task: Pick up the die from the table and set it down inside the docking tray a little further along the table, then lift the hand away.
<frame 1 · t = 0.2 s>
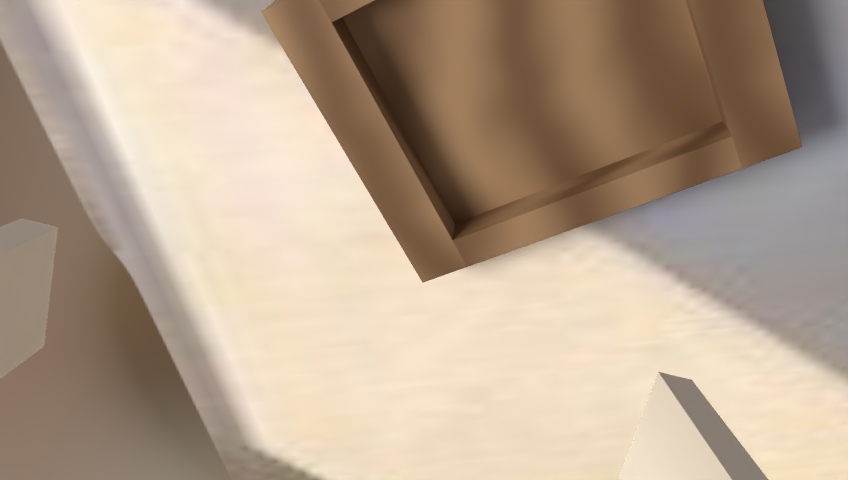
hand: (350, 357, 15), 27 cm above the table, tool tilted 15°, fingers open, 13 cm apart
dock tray: (532, 61, 39), on the table
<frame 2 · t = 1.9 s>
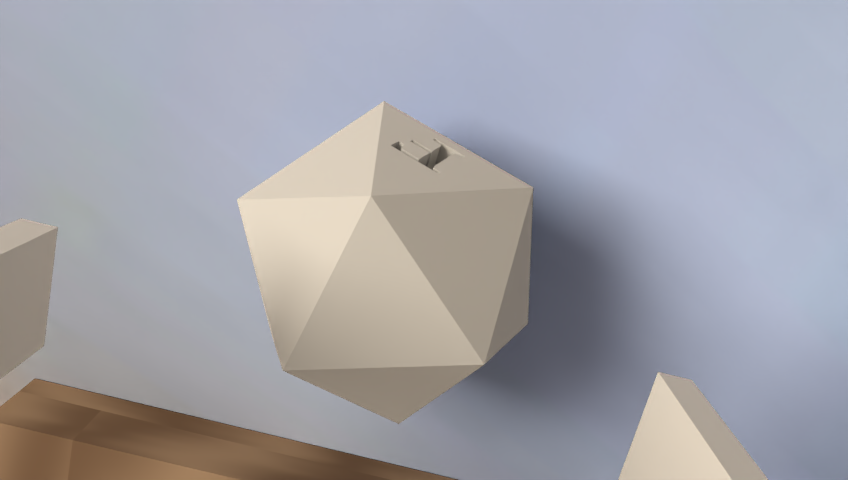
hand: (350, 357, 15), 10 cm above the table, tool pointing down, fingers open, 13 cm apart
die: (400, 230, 25), on the table
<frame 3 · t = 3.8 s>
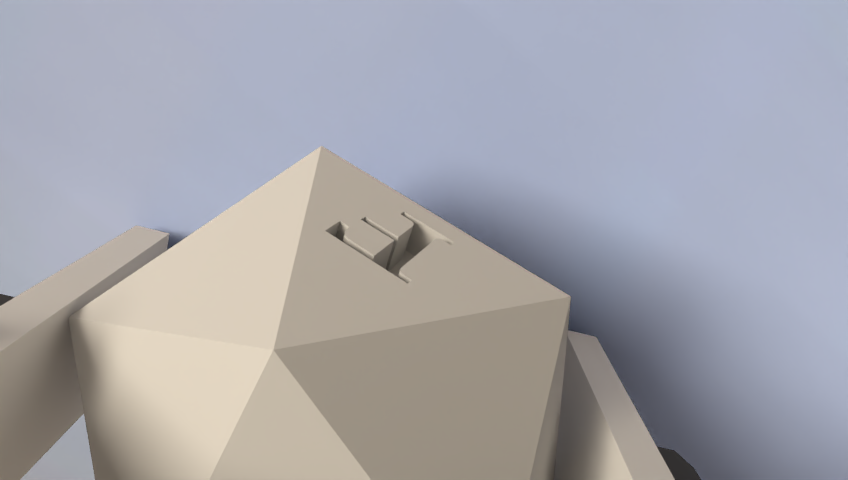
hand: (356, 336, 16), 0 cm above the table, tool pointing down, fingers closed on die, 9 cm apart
die: (359, 326, 17), on the table, touching gripper
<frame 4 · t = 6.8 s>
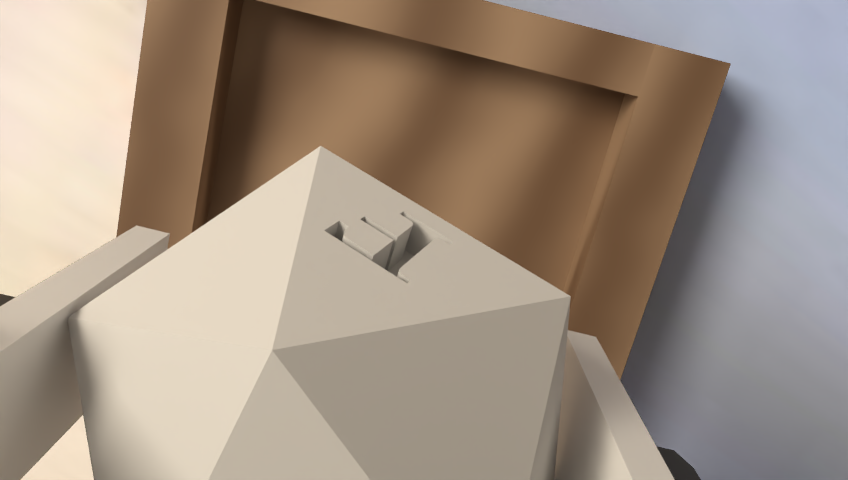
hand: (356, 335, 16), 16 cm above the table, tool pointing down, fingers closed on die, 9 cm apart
die: (359, 326, 17), point 15 cm above the table, touching gripper
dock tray: (399, 203, 32), on the table
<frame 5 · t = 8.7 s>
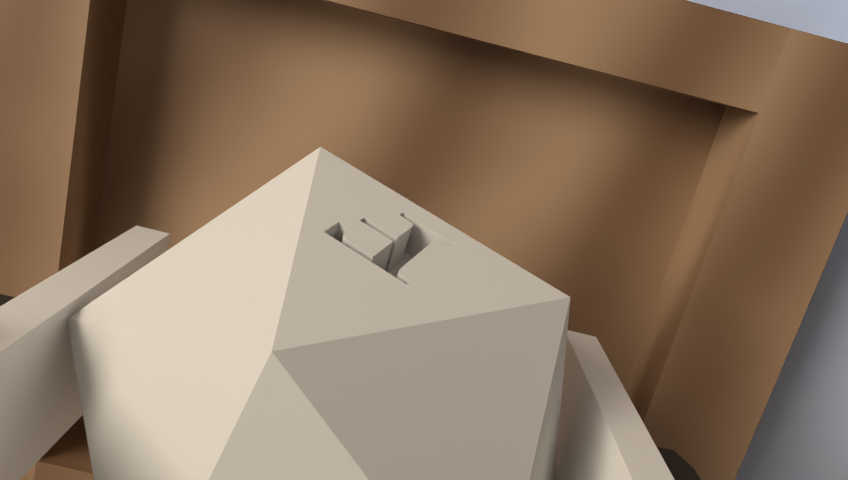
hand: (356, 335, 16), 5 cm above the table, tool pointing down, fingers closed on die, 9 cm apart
die: (359, 327, 17), point 5 cm above the table, touching gripper
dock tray: (378, 266, 21), on the table
when the fingers open (3 cm above the table, at t = 10.1 s): die drops 2 cm, resting on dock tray.
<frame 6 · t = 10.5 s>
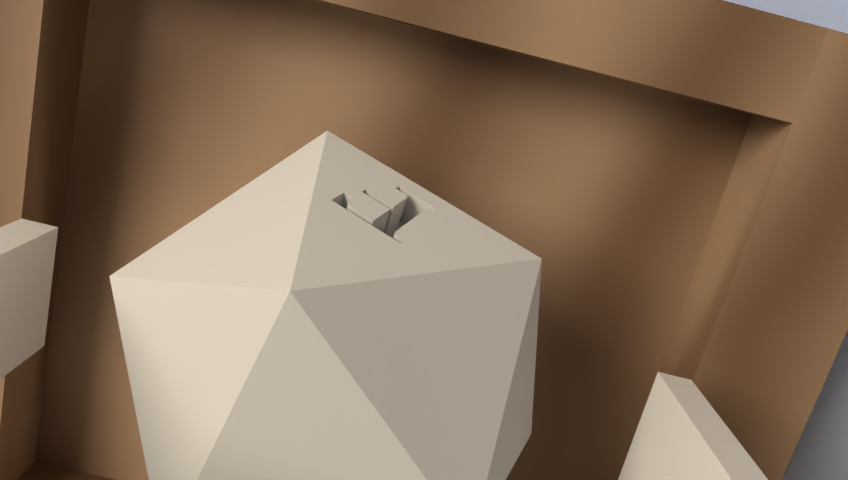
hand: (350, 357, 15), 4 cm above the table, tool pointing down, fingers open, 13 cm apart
die: (359, 296, 19), point 1 cm above the table, touching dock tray
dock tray: (369, 288, 20), on the table
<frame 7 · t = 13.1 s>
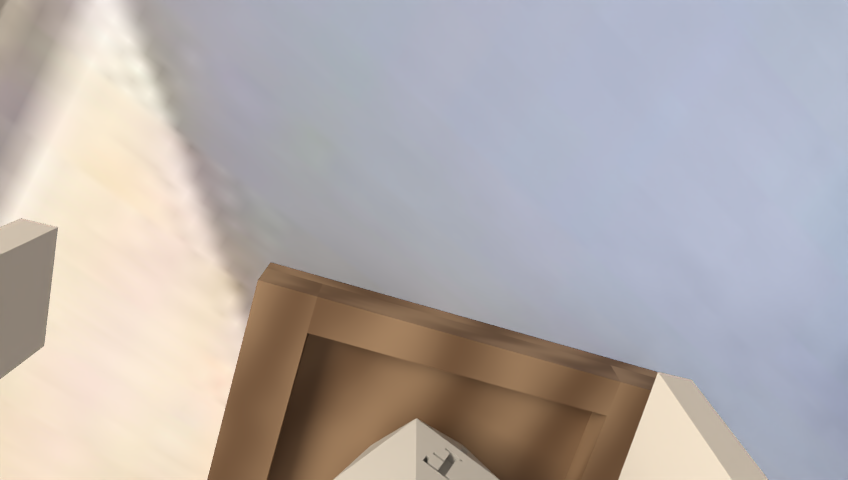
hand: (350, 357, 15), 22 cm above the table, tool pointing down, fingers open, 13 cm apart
die: (417, 466, 40), point 1 cm above the table, touching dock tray
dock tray: (420, 459, 41), on the table
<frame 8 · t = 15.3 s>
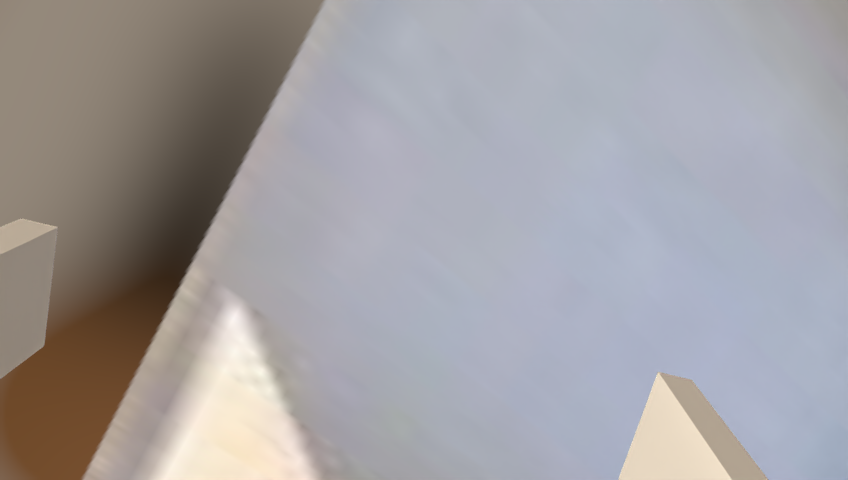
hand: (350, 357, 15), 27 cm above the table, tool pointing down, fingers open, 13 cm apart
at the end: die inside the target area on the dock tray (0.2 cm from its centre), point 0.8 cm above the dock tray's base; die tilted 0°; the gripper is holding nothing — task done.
